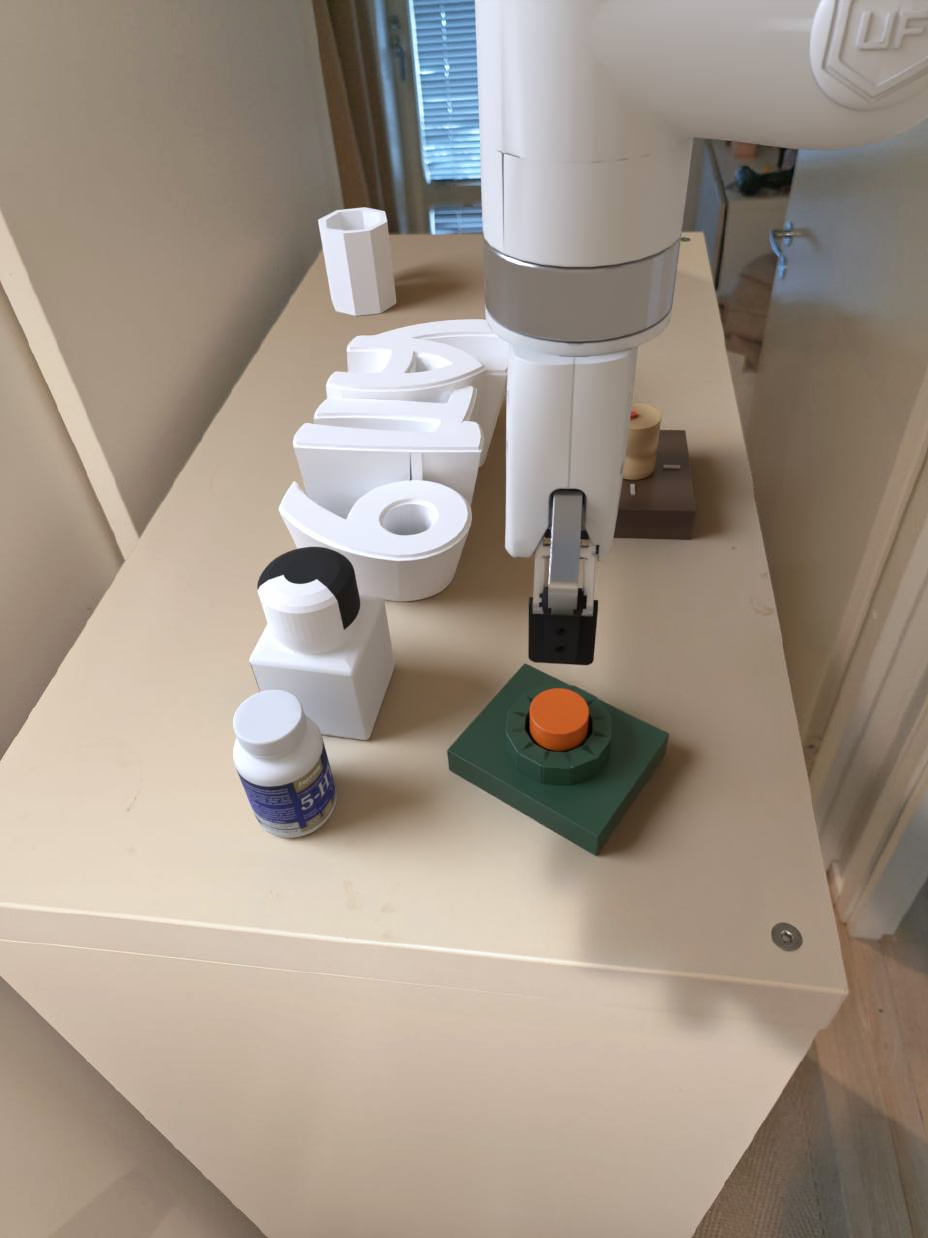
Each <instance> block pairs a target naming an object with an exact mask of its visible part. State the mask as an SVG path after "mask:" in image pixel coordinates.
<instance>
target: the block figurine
mask: <svg viewBox="0 0 928 1238" xmlns="http://www.w3.org/2000/svg"><path fill="white" fill-rule="evenodd" d="M256 588H257V589H256V590H257V594H258V597H259V600H260V605H261V607H262V610H263V613H264V616H265V619H266V623H267V624H266V626H265V628H264V630H263V631H262V634H261V635H260V637H259V639H258V641H257V643H256V645H255V647H254V649H253V651H252V653H251V654H250V657H249V664H250V667H251V670H252V673H253V676H254V678H255V682H256V684H257V687H258V690H259V692H262V691H266V690H283V691H286V692H289V693H291V694H293V695H294V696H295V697H297V698H298V700H299V701H300V703H301V705H302V707H303V710H304V713H305V715H306V716H308V717H309V718H311V719H312V720H313V721H314V722H315V723H316V725H317V726H318V728H319V730H320V732H321V735H322V736H323V735H324V736H330V737H338V738H343V739H344V738H346V739H353V740H358V741H359V740H361V741H368V740H369V739H370V738H371V736H372V733H373V729H374V727H375V724H376V721H377V719H378V716H379V714H380V710H381V707H382V705H383V702H384V699H385V696H386V694H387V690H388V687H389V684H390V682H391V679H392V677H393V674H394V670H395V667H396V662H395V661H396V660H395V655H394V650H393V644H392V639H391V633H390V627H389V626H390V625H389V620H388V615H387V614H388V613H387V607H386V602H385V600H384V599H383V598H382V597H379V596H370V595H361V594H359V592H358V587H357V581H356V576H355V571H354V568H353V565H352V564H351V562H350V561H349V560H348V559H347V558H346V557H345V556H344V555H342V554H340V553H338V552H336V551H334V550H332V549H328V548H323V547H304V548H299V549H298V548H295V549H292V550H289V551H285V552H283V553H282V554H280V555H278V556H277V557H275V558H274V559H272V561H270V562H269V563H268V564H267V566H266V567H265V568H264V569H263V571H261V574H260V575H259V578H258V580H257V585H256Z"/></svg>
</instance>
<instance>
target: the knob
mask: <svg viewBox="0 0 928 1238" xmlns="http://www.w3.org/2000/svg"><path fill="white" fill-rule="evenodd" d="M661 423H662V414H661V412H660V410H659V409H657V408H656V407H654V406H653V405H650V404H647V403H641V402H632V408H631V417H630V426H629V435H628V443H627V451H626V458H625V466H624V473H623V479H628V480H638V479H643V478H646V477H648V476H650V475H651V474H652V473H653V472H654V470H655V465H656V457H657V449H658V441H659V433H660V430H661Z"/></svg>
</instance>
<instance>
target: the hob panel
mask: <svg viewBox="0 0 928 1238" xmlns="http://www.w3.org/2000/svg"><path fill="white" fill-rule="evenodd" d="M694 493H695V491H694V484H693V477H692V469H691V463H690V454H689V446H688V440H687V431H686V429H660V433H659V441H658V449H657V457H656V465H655V470H654V472H653V473H652V474H651V475H650V476H648V477H646V478H643V479H638V480H628V479H623V480H622V487H621V493H620V500H619V507H618V513H617V519H616V525H615V531H614V537H613V538H628V539H630V538H631V539H662V540H692V537H693V532H694V526H695V520H696V515H697V508H696V499H695V494H694Z"/></svg>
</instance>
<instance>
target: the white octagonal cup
mask: <svg viewBox="0 0 928 1238" xmlns="http://www.w3.org/2000/svg"><path fill="white" fill-rule="evenodd" d="M317 222H318V229H319V234H320V239H321V240H320V241H321V247H322V252H323V257H324V258H323V259H324V265H325V270H326V276H327V281H328V288H329V293H330V299H331V303H332V306H333V308H334V310H335V312H337V313H341V314H344V315H345V314H346V315H350V316H354V317H359V316H369V315H379V314H382V313H384V312H385V311H387V310H389V309H390V308H392V307H393V306H395V305H397V304H398V303H397V295H396V294H397V293H396V286H395V284H396V283H395V277H394V276H395V275H394V267H393V259H392V251H391V242H390V234H389V233H390V232H389V224H388V218H387V213H386V211H385V210H380V209H377V208H376V209H375V208H371V207H354V208H345V209H344V208H343V209H336V210H334V211H332V212H331V213H328V214H326V215H324V216H322V217H321V218H319V219H317Z"/></svg>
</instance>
